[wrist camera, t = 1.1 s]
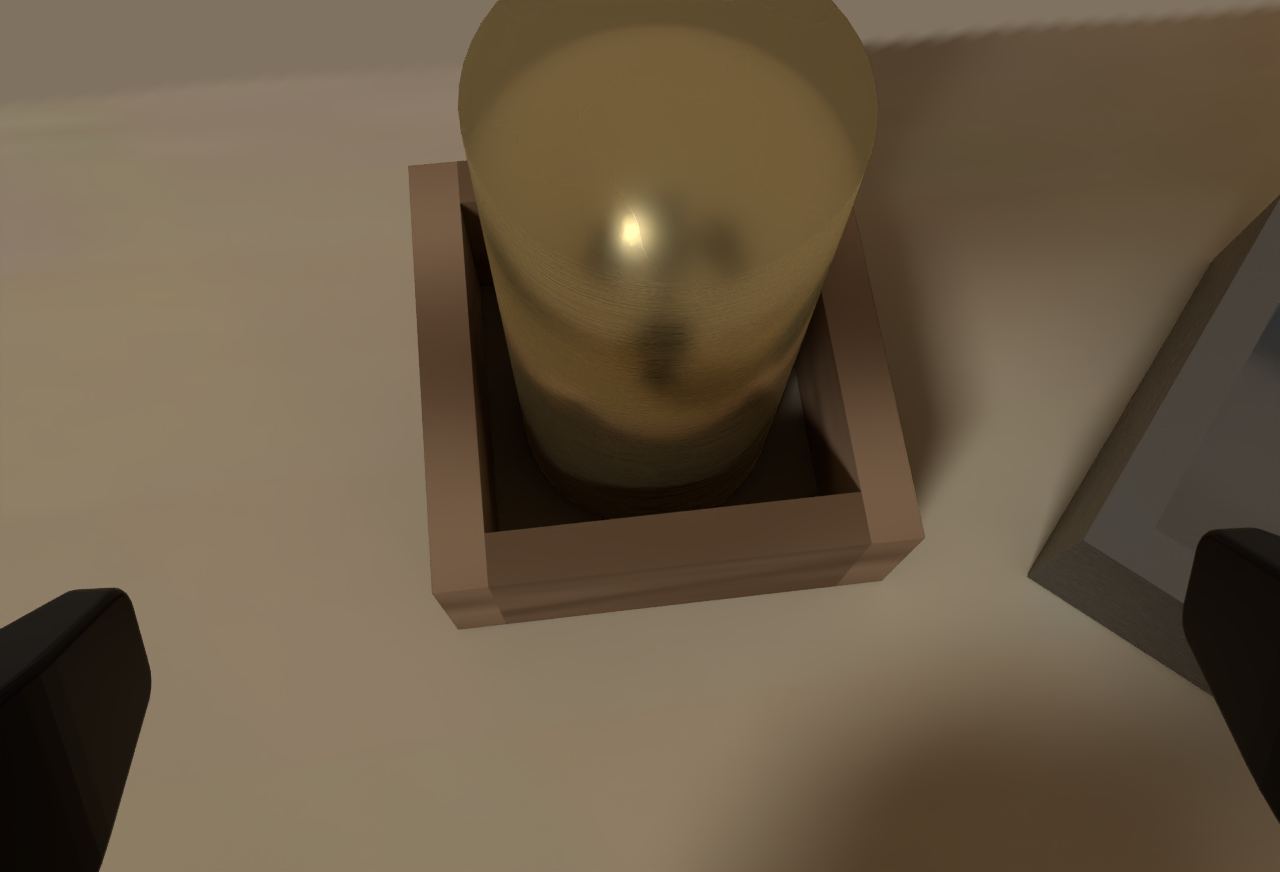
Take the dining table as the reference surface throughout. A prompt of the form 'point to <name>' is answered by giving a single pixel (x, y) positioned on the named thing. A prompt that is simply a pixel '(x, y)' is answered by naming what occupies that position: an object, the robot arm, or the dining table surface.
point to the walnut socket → (662, 543)
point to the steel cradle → (1182, 458)
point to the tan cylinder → (660, 225)
